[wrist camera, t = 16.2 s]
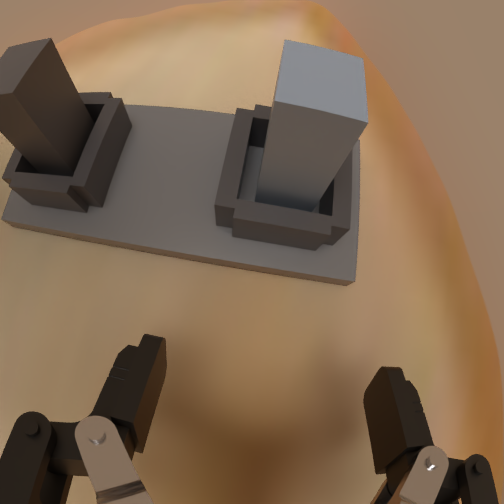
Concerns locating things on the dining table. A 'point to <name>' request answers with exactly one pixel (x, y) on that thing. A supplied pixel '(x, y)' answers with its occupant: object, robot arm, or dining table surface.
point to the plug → (311, 124)
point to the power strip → (161, 178)
